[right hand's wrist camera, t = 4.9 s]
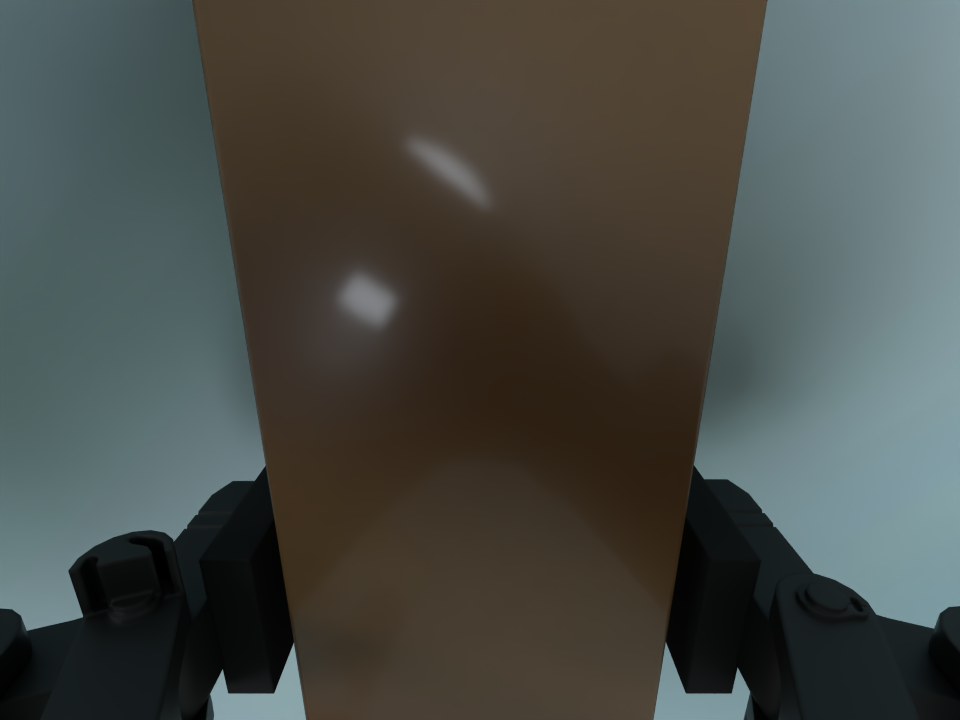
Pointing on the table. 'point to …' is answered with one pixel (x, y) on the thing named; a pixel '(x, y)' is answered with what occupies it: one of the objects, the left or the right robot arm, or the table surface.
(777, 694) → the right robot arm
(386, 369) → the beam
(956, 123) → the table surface
